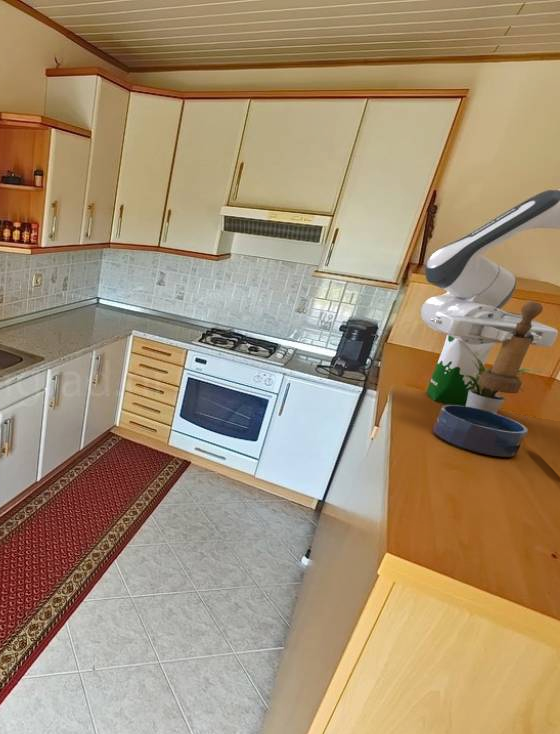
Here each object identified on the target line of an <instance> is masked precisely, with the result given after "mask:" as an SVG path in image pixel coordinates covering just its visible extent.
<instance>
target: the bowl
mask: <svg viewBox="0 0 560 734" xmlns="http://www.w3.org/2000/svg"><path fill="white" fill-rule="evenodd" d="M432 431H433V433H434V435H437V436H438V437H439V438H441V439H443V440H444V441H445V442H447V443H449V444H452V445H453V446H456V447H458V448H461V449H464V450H467V451H470V452H473V453H477V454H481V455H484V456H485V455H486V456H491V457H501V458H502V457H503V458H504V457H506V458H511V457H515V456H516V455H518V452H519V450H520V448H521V446H522V444H523V441H524V439H525V438H526V435H527V433H528V431H529V429H528V427H526V425H523V423H520V422H518V421H516V420H514V419H512V418H510V417H507V416H504V415H501V414H498V413H497V412H496V413H492V412H489V411H485V410H481V409H477V408H472V407H467V406H461V405H452V404H444V405H442V406H441V408H440V410H439V413H438V415H437V418H436V420H435V422H434V425H433V427H432Z"/></svg>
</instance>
